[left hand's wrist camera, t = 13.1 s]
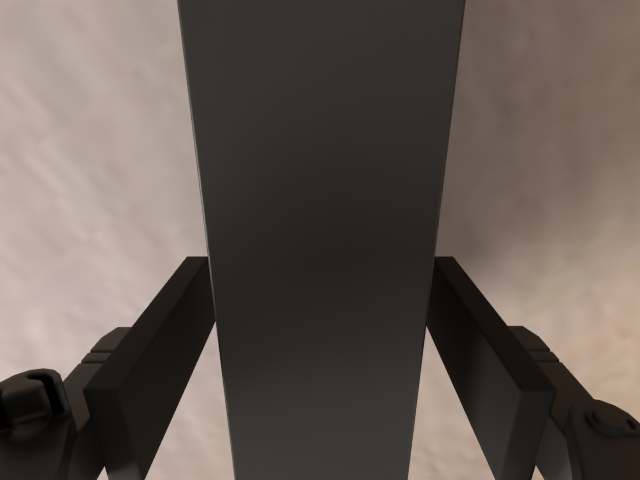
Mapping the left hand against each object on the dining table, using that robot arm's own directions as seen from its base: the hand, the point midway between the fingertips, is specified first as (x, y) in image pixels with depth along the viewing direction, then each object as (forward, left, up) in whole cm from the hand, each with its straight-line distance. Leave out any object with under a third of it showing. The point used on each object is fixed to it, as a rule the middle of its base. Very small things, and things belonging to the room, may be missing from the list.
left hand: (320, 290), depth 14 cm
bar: (+10, -2, -3) cm, 10 cm away
